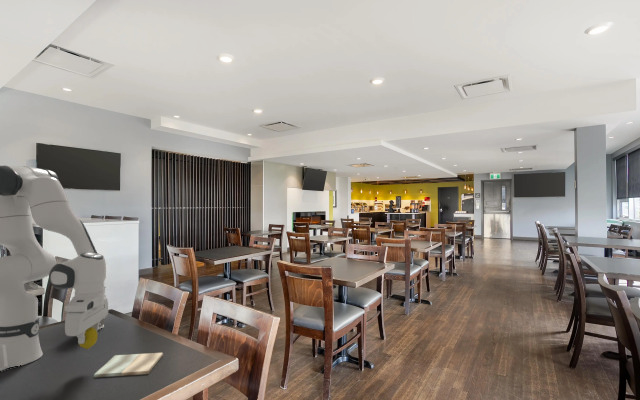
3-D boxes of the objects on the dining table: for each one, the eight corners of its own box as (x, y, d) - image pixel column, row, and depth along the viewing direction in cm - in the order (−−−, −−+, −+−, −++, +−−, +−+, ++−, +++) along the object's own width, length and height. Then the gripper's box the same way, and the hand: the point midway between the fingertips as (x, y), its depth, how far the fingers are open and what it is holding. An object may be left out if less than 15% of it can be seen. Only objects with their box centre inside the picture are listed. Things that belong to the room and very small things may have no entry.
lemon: (87, 353, 112) (87, 330, 112) (73, 351, 113) (74, 328, 113) (101, 346, 117) (101, 324, 117) (88, 345, 118) (88, 322, 119)
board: (94, 377, 108) (94, 374, 109) (115, 358, 122) (115, 355, 122) (148, 373, 111) (148, 370, 111) (162, 355, 125) (162, 352, 125)
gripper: (96, 291, 125) (94, 327, 125) (61, 308, 105) (59, 351, 105) (113, 291, 126) (112, 327, 126) (82, 308, 106) (80, 351, 106)
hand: (87, 338), depth 115 cm, fingers closed on lemon, 6 cm apart
